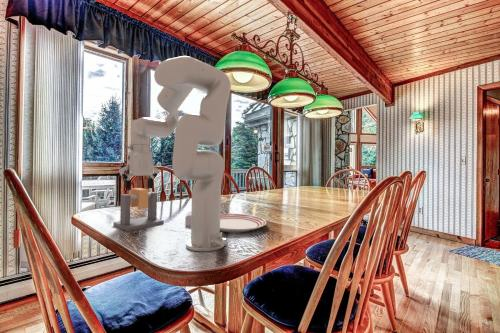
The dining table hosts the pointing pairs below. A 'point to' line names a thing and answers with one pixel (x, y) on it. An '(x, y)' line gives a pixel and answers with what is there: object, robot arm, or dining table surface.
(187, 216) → the charger
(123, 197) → the stand
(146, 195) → the orange rectangular block
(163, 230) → the dining table surface
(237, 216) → the dinner plate
